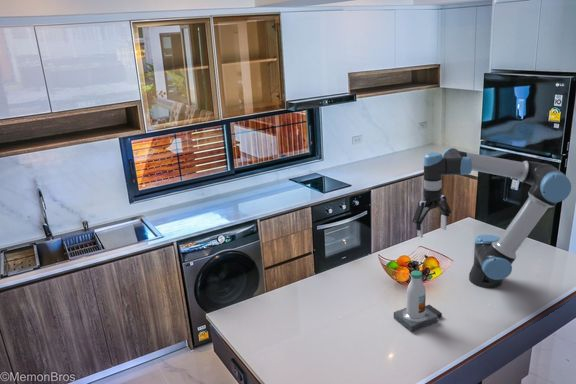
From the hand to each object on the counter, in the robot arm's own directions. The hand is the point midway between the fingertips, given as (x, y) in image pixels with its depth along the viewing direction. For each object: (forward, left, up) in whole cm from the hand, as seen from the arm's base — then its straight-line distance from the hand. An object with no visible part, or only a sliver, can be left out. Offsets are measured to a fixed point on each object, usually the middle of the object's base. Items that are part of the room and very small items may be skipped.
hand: (431, 232), depth 216 cm
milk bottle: (+20, +13, -29) cm, 37 cm away
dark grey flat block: (+18, +13, -31) cm, 38 cm away
